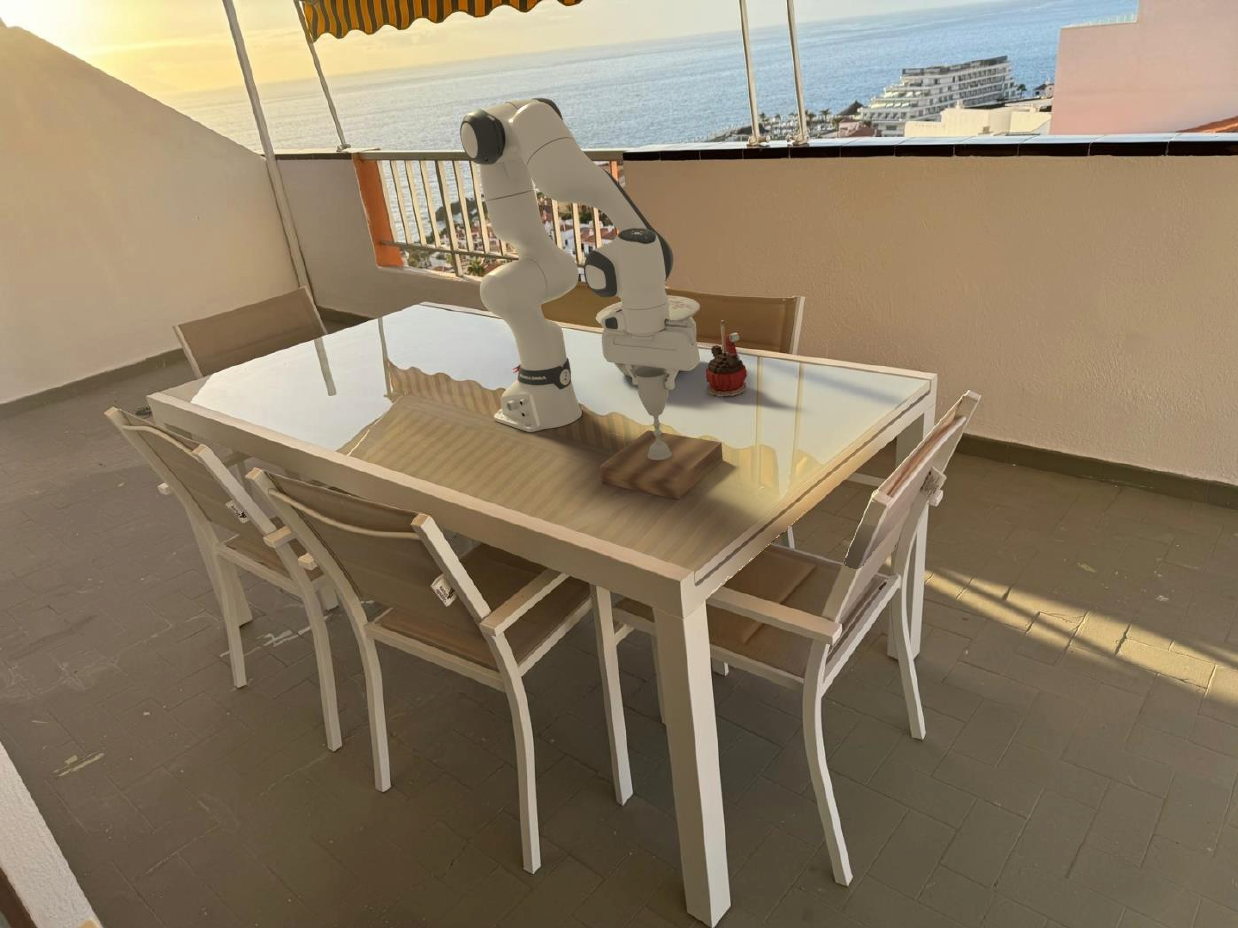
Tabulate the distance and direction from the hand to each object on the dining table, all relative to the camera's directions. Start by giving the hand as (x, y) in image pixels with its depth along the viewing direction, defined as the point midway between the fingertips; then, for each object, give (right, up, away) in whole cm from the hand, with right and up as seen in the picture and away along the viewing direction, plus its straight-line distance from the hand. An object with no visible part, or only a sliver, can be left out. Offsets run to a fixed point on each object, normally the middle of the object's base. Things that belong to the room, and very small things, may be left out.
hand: (653, 386), depth 165 cm
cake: (+20, +3, +43) cm, 48 cm away
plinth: (+2, -17, +8) cm, 19 cm away
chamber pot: (+2, +10, +63) cm, 63 cm away
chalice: (+1, -13, +6) cm, 15 cm away
